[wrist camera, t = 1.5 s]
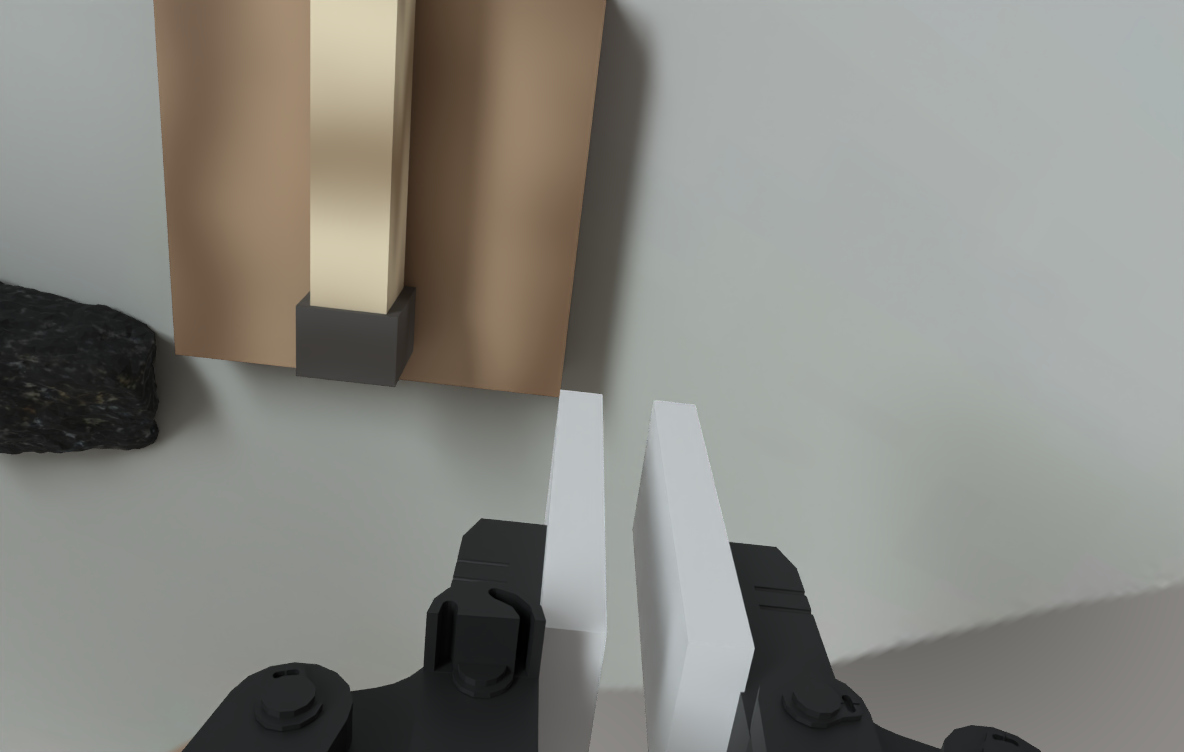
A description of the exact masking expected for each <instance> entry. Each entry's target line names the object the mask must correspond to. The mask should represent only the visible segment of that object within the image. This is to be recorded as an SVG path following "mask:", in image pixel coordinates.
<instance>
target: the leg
mask: <svg viewBox="0 0 1184 752" xmlns="http://www.w3.org/2000/svg"><path fill="white" fill-rule="evenodd" d="M415 5H416V0H310V291H309V292H308V293H307V295H306V296H305V297H304V298H303V299H302V300H301V301H300V302H299V303H298V304H297V305H296V376H301V377H310V378H319V379H328V380H337V381H346V382H355V383H364V384H373V385H382V386H391V387H395V386H396V384H397V382H398V380H399V378H400V376H401V374H402V372H403V370H404V368H405V366H406V364H407V362H408V360H409V358H410V356H411V354H412V352H413V344H414V323H415V302H416V287H409V286H404V266H405V242H406V218H407V195H408V171H409V147H410V124H411V100H412V76H413V52H414V29H415Z"/></svg>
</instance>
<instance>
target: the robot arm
mask: <svg viewBox="0 0 1184 752" xmlns="http://www.w3.org/2000/svg"><path fill="white" fill-rule="evenodd" d="M633 542H634V556H635V571H636V585H637V599H638V613H639V627H640V641H641V656H642V670H643V684H644V698H645V712H646V726H647V741H648V752H1041V751H1040V750H1039V749H1037V748H1036V747H1034V746H1032V745H1031V744H1029V743H1027V742H1026V741H1024V740H1022V739H1021V738H1019V737H1018V736H1015V735H1013V734H1010V733H1007V732H1004V731H1002V730H999V729H996V728H993V727H984V726H974V725H970V726H967V727H963V728H959V729H955V730H953V732H952V733H951V734H950V735H949V736H948V737H947V738H946V739H945V740H944V743H943V746H942V748H941V749H939V748H935V747H933V746H930V745H927V744H924V743H921V742H918V741H915V740H912V739H909V738H906V737H903V736H900V735H898V734H895V733H893V732H891V731H888V730H886V729H884V728H882V727H880V726H878V725H877V724H875V723H873V720H872V718H871V714H870V712H869V711H868V709H867V707H866V705H865V704H864V702H863V700H862V698H861V697H859V696H858V695H857V694H856V693H855V692H854V691H853V690H852V689H851V688H850V687H848V686H847V685H846V684H845V683H843V682H841V681H838V680H837V679H835V676H834V674H833V671H832V668H831V665H830V662H829V659H828V656H827V654H826V651H825V648H824V645H823V642H822V639H821V636H820V634H819V631H818V628H817V625H816V622H815V619H814V616H813V615H811V608H810V605H809V602H808V599H807V597H806V596H804V592H805V591H804V588H803V585H802V582H801V579H800V577H799V574H798V571H797V568H796V567H795V566H794V565H793V564H792V563H791V562H790V561H789V560H788V559H787V558H786V557H785V556H784V555H783V554H782V553H781V551H780V550H779V549H778V548H777V547H771V546H762V545H752V544H743V543H733V542H729V541H728V537H727V532H726V528H725V524H724V520H723V516H722V512H721V508H720V504H719V500H718V495H717V491H716V487H715V483H714V479H713V475H712V471H711V467H710V463H709V459H708V454H707V450H706V446H705V442H704V438H703V434H702V430H701V426H700V422H699V418H698V413H697V409H696V405H694V404H685V403H676V402H667V401H658V400H653V407H652V413H651V419H650V425H649V431H648V437H647V444H646V450H645V456H644V462H643V468H642V474H641V481H640V487H639V493H638V499H637V505H636V511H635V518H634V524H633ZM606 637H607V605H606V553H605V501H604V449H603V397H602V394H596V393H587V392H578V391H569V390H560V396H559V405H558V413H557V422H556V430H555V439H554V447H553V456H552V464H551V473H550V481H549V490H548V498H547V507H546V515H545V524H544V525H540V524H530V523H521V522H511V521H502V520H492V519H483V518H481V519H480V520H479V521H478V522H477V523H476V524H475V525H474V526H473V527H472V528H471V529H470V530H469V531H468V532H467V533H466V534H465V535H463V538H462V542H461V546H460V550H459V554H458V559H457V563H456V567H455V571H454V575H453V580H452V583H451V587H450V588H448V589H447V590H445V591H444V592H443V593H441V594H440V595H438V596H437V597H436V598H434V600H433V602H432V604H431V606H430V608H429V609H428V611H427V619H426V636H425V652H424V667H423V668H422V669H420V670H419V671H417V672H416V673H414V674H413V675H412V676H410V677H408V678H406V679H404V680H401V681H399V682H397V683H394V684H390V685H386V686H382V687H378V688H371V689H365V690H358V691H351V692H350V687H349V685H348V684H347V683H346V682H345V681H344V680H343V679H342V678H341V677H340V676H339V674H338V673H337V672H334V671H332V670H329V669H327V668H325V667H322V666H320V665H317V664H306V663H296V662H294V663H288V664H282V665H276V666H270V667H268V668H266V669H264V670H261V671H259V672H257V673H255V674H252V675H250V676H248V677H247V678H246V679H245V680H243V681H242V682H241V683H240V684H239V685H238V686H236V687H235V688H234V689H233V690H232V691H231V692H230V693H229V694H228V696H227V697H226V698H225V699H224V701H223V702H222V703H221V704H220V706H219V707H218V708H217V709H216V710H215V712H214V713H213V714H212V715H211V717H210V718H209V719H208V720H207V721H206V723H205V724H204V725H203V726H202V728H201V729H200V730H199V731H198V732H197V734H196V735H195V736H194V737H193V739H192V740H191V741H190V742H189V743H188V745H187V746H186V747H185V749H184V750H183V751H182V752H588V751H589V744H590V738H591V731H592V725H593V719H594V713H595V706H596V700H597V694H598V688H599V681H600V675H601V669H602V662H603V656H604V650H605V643H606Z"/></svg>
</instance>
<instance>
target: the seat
mask: <svg viewBox="0 0 1184 752" xmlns="http://www.w3.org/2000/svg"><path fill="white" fill-rule="evenodd" d="M153 1H154V17H155V34H156V50H157V66H158V82H159V98H160V114H161V131H162V147H163V163H164V179H165V195H166V211H167V228H168V244H169V260H170V276H171V292H172V308H173V325H174V341H175V354H176V355H185V356H194V357H203V358H212V359H221V360H230V361H239V362H248V363H257V364H266V365H275V366H284V367H293V368H296V305H297V304H298V303H299V302H300V301H301V300H302V299H303V298H304V297H305V296H306V295H307V293H308V292H309V291H310V0H153ZM605 8H606V0H416V5H415V29H414V52H413V76H412V100H411V124H410V147H409V171H408V195H407V218H406V242H405V266H404V286H409V287H416V302H415V323H414V344H413V352H412V354H411V356H410V358H409V360H408V362H407V364H406V366H405V368H404V370H403V372H402V374H401V376H400V378H399V379H400V380H409V381H418V382H427V383H436V384H445V385H454V386H463V387H472V388H481V389H490V390H499V391H508V392H517V393H525V394H534V395H543V396H552V397H559V396H560V390H561V381H562V373H563V364H564V356H565V347H566V339H567V330H568V322H569V313H570V305H571V296H572V288H573V279H574V271H575V262H576V254H577V246H578V237H579V229H580V220H581V212H582V203H583V195H584V186H585V178H586V169H587V161H588V152H589V144H590V135H591V127H592V118H593V110H594V101H595V93H596V84H597V76H598V67H599V59H600V50H601V42H602V33H603V25H604V17H605Z"/></svg>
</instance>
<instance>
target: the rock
mask: <svg viewBox="0 0 1184 752" xmlns="http://www.w3.org/2000/svg"><path fill="white" fill-rule="evenodd" d="M155 344H156V343H155V334H154V333H153V332H152V331H151V330H150V329H149V328H148V327H147V325H145V324H143V323H141V322H139V321H138V320H136V319H134V318H132V317H129V316H127V315H125V314H123V313H121V312H118V311H116V310H113V309H111V308H110V307H108V306H105V305H99V304H98V305H88V304H82V303H77V302H75V301H72V300H70V299H67V298H64V297H61V296H58V295H54V294H51V293H45V292H40V291H37V290H35V289H30V288H24V287H21V286H12V285H5V284H3V283H2V282H0V453H7V454H20V453H22V452H37V453H45V452H53V453H63V452H72V451H83V450H87V449H92V448H100V449H122V450H131V449H140V448H144V447H146V446H148V445H150V444H153V443H154V442H155V440H156V438H157V435H158V432H159V430H158V427H157V424H156V422H155V421H154V420H153V419H154V415H155V413H156V410H157V407H158V403H159V400H158V396H157V393H156V387H157V386H156V384H155V382H154V380H155V375H154V368H153V361H154V359H155V354H156V345H155Z"/></svg>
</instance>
